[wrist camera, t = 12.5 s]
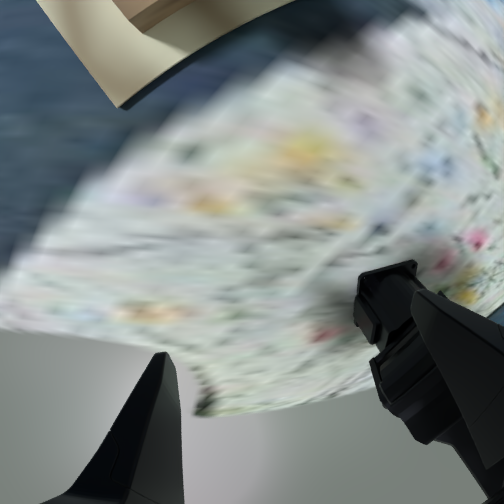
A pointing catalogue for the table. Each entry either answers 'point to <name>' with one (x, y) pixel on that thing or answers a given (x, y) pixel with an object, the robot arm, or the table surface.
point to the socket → (144, 35)
